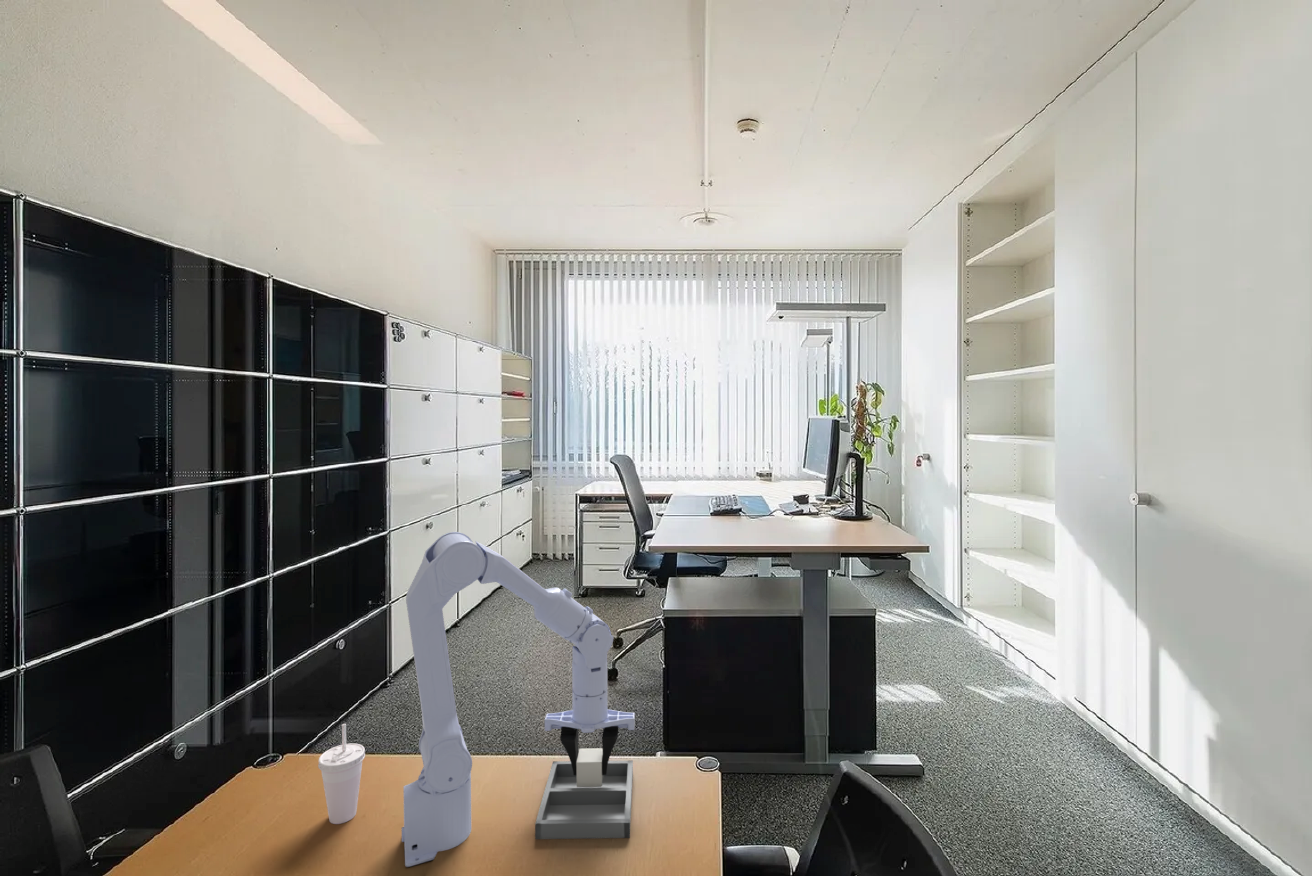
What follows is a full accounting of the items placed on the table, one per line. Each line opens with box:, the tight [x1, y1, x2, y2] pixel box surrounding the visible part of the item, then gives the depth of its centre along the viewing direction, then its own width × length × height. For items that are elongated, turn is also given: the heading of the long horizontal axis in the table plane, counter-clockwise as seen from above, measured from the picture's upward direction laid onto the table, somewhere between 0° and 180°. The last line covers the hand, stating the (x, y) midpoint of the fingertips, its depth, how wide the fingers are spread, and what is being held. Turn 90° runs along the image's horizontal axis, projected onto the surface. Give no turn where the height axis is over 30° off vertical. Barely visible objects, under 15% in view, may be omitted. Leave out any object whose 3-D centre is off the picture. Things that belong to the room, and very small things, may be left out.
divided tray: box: [534, 760, 634, 840], centre depth 91 cm, size 14×16×3 cm
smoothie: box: [317, 723, 366, 825], centre depth 90 cm, size 6×6×14 cm
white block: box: [576, 747, 603, 787], centre depth 95 cm, size 4×4×4 cm
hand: (590, 771), depth 95 cm, fingers closed on white block, 4 cm apart
